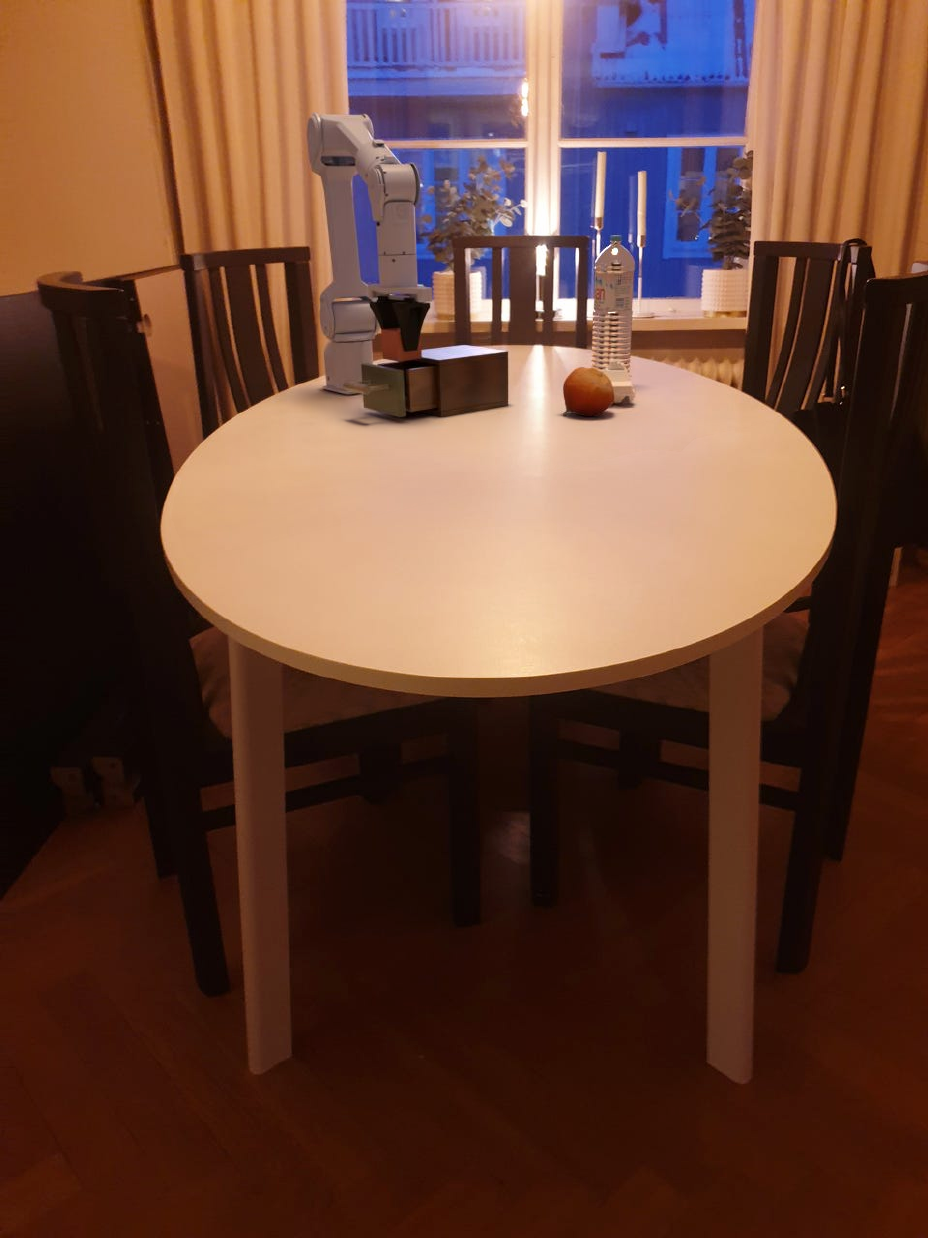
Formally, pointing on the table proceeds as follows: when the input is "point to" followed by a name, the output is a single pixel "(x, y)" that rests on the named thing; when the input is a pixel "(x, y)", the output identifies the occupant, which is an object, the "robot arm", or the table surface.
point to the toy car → (620, 381)
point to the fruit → (587, 392)
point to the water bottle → (613, 306)
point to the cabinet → (468, 378)
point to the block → (397, 346)
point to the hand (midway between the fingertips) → (401, 349)
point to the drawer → (397, 387)
